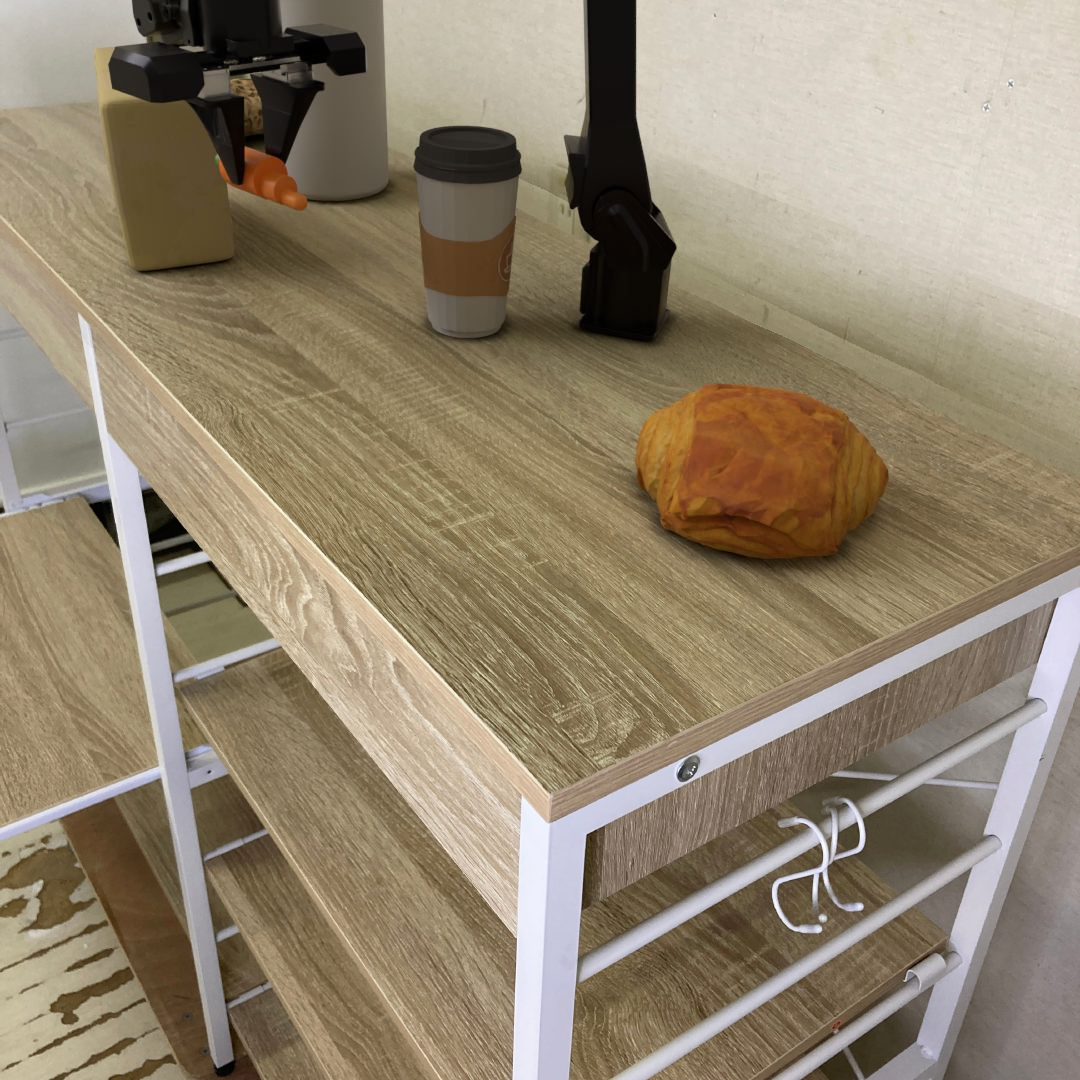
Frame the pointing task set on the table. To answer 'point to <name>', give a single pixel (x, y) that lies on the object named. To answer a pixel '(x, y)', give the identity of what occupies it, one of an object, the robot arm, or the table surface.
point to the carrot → (267, 179)
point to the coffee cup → (467, 225)
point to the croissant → (759, 471)
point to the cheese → (162, 179)
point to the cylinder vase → (342, 109)
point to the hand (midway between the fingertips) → (256, 179)
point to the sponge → (249, 105)
